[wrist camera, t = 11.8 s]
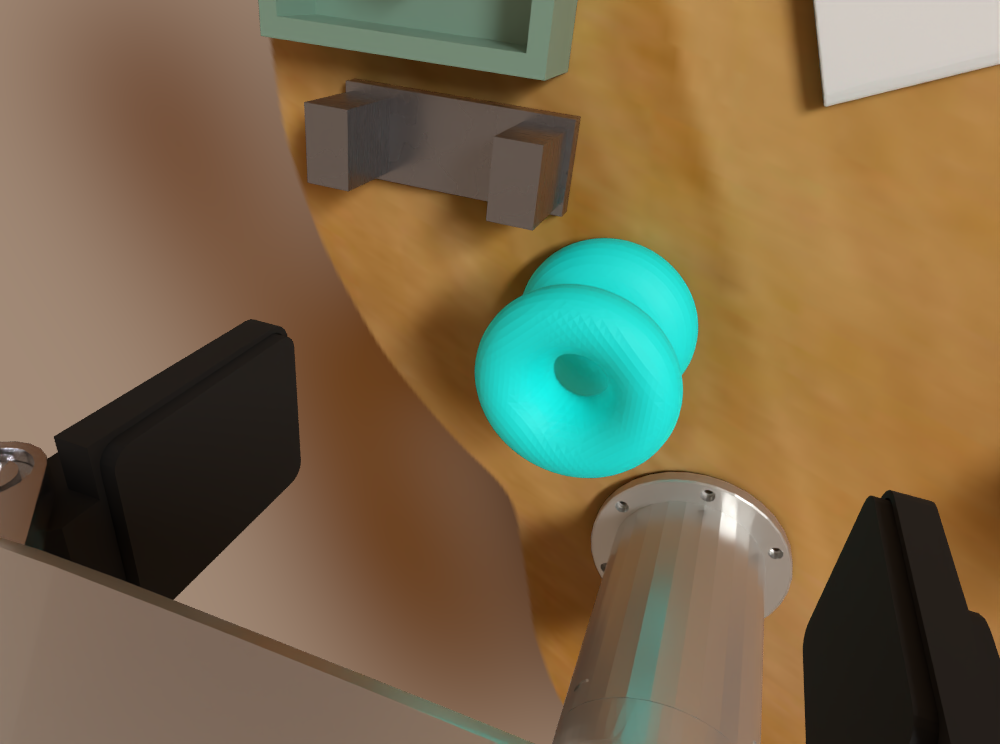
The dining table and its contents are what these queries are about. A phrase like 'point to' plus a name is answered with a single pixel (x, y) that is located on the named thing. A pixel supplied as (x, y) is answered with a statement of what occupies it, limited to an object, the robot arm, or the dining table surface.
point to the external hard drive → (901, 43)
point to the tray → (436, 31)
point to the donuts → (589, 359)
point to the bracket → (444, 148)
